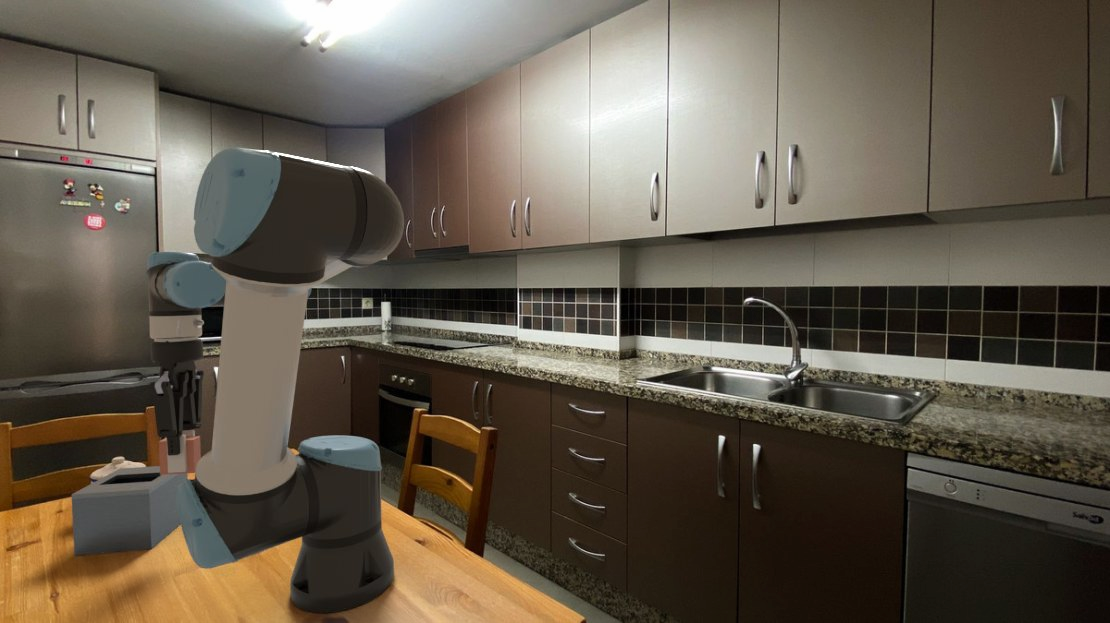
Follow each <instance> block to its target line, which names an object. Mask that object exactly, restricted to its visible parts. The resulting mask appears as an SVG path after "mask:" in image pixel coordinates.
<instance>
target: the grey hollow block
mask: <svg viewBox="0 0 1110 623" xmlns="http://www.w3.org/2000/svg"><path fill="white" fill-rule="evenodd" d="M188 474H189V473H184V474H167V475H160V465H154V466H153V465H152V466H146V467H136V468H120V469H118V470H116V471H114V472H113V473H111V474H109V475H107V476H105V477H103V478H101V479H99V480H98V481H96V482H94V483H92V484H91V483H90V484H88V485H86V486H84V487H83V488H81V489H79V490H77V491H75V492H73V493H72V494H71V512H72V515H71V516H72V531H73V532H72V534H73V535H72V536H73V551H74V553H73V554H74V557H77V556H88V555H98V554H99V555H100V554H110V553H121V552H123V553H124V552H134V551H145V550H152V549H154V548H155V547H156V546H157V545H159V543H160V542H162V541H163V540H164V539H165V538H166V537H168V536H169V535H170V534H171V533H172V532H173V531H175V530H176V529H177V528H178V527H179V526H181V523H180V519H179V514H178V509H177V503H176V488H177V486H178V485H179V484H180V483H182V482H184V481H186V480H187V479H189V478H188V477H189V476H188Z"/></svg>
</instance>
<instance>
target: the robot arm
mask: <svg viewBox="0 0 1110 623" xmlns="http://www.w3.org/2000/svg"><path fill="white" fill-rule="evenodd" d="M193 210H194V211H193V220H194V221H195V222H194V226H193V234H194V239H195V243H196V245H197V247H198V249H199V250H200V251H201V252H202V253H204V254H206V255H209V256H210V257H211V262H209V261H204V260H200V258H199V256H198V254H195V253H192V252H186V251H185V252H182V251H180V252H179V251H154V252H151V253H149V254H148V256H147V269H146V270H145V271H146V272H145V273H146V275H147V286H148V305H149V307H148V309H149V310H148V311H149V315H148V316H149V338H150V339H153V340H154V341H152V342H151V343H150V361H151V362H152V363H154V364H159V365H160V369H159V374H158V375H159V379H158V380H157V381H151V382H150V383H149V389H150V391H151V394H152V397H153V398H152V399H153V407H154V415H155V416H154V417H155V423H156V432H157V433H156V434H157V436H158V437H159V438H167V461H168V473H174V472H185V471H187V454H186V437H192V436H196V433H195V432H196V429H197V430H199V429H201V428H202V424H201V422H202V407H203V406H202V401H203V398H202V397H203V395H202V394H203V380H204V374H205V371H204V370H203V369H201V370H198V369H197V367H196V363H195V362H197V361H200V360H202V359H203V358H204V343H203V340H202V339H201V338H199V337H201V336H202V335H203V325H204V324H205V322H204V320H203V319H202V317H203V316H202V314H203V312H202V309H205V308H210V307H211V308H214V307H223V316H222V327H221V328H222V329H221V337H220V338H221V339H220V348H219V349H220V351H219V361H218V372H217V373H218V374H217V383H216V384H217V386H216V387H217V388H216V397H215V407H214V409H215V410H214V419H213V430H212V431H213V433H212V443H211V444H212V445H211V449H210V450H208V451H207V452H206V453H204V454H203V455H202V456H201V459H200V460H199V461H198V463H197V466H196V471H195V473H194V478H188V479H187V480H186V481H184V482H182V483H180V484H179V485H178V486H177V488H176V503H177V509H178V514H179V519H180V523H181V524H180V526H181V531H182V534H183V538H184V542H185V544H186V547H187V548H188V549H187V550H188V552H189V554H190V557H191V558H192V561H193V562H194V564H195V565H196V566H197V567H199V568H201V569H205V570H206V569H209V570H210V569H214V568H217V567H221V566H225V565H227V564H232V563H233V564H234V563H237V562H238V561H239V560H242V559H245V558H248V557H250V556H253V555H256V554H259V553H262V552H264V551H267V550H270V549H273V548H275V547H277V546H280V545H283V544H286V543H288V542H292V541H293V540H296V539H299V538H301V546H300V548H299V553H298V554H297V558H296V561H295V564H294V568H293V570H292V571H293V572H292V574H291V578H290V585H289V586H290V589H289V590H290V601H291V602H292V604H293V605H294V606H295V607H297V608H299V609H300V610H303V611H305V612H311V613H321V614H322V613H324V614H325V613H334V612H335V613H336V612H341V611H346V610H349V609H353V608H357V607H359V606H362V605H363V604H367V603H368V602H370V601H372V600H374V599H376V598H377V597H378V596H380V595H381V594H383V593H384V592H385V591H386V590H387V589H388V588H389V587H390V585H391V583H392V582H393V580H394V576H395V564H394V557H393V555H392V552H391V549H390V547H389V544H388V542H387V539H386V537H385V534H384V531H383V528H382V527H383V525H382V478H381V477H382V476H381V475H382V474H381V473H382V470H383V466H382V462H381V454H380V452H381V451H380V448H379V445H377V443H375V441H373V440H371V439H369V438H365V437H362V436H356V435H355V436H354V435H345V434H344V435H339V434H338V435H337V434H336V435H335V434H334V435H321V436H314V437H309V438H307V439H304V440H302V441H301V442H300V443H299V446H298V448H297V452H298V453H297V454H295V452H294V451H293V450H292V449H291V448H290V447H288V443H289V439H290V438H289V437H290V429H291V422H292V415H293V407H294V402H295V401H294V400H295V392H296V384H297V376H298V369H299V363H300V357H301V356H300V355H301V347H302V341H303V332H304V324H305V317H306V310H307V303H308V299H309V298H310V296H311V294H312V288H314V287H315V286H318V285H320V284H322V283H324V282H325V281H327V280H329V279H331V278H333V277H335V276H337V275H339V274H341V273H343V272H345V271H346V270H348V269H350V268H352V267H355V268H366V267H369V266H371V265H373V264H375V263H377V262H379V261H382V260H383V259H385V258H387V257H388V256H389V255H391V253H392V252H394V251H395V249H396V248H397V247H398V245H399V244H400V242H401V239H402V237H403V234H404V228H405V218H404V211H403V208H402V205H401V202H400V200H399V199H398V197H397V195H396V194H395V193H394V191H393V189H392V188H391V187H390V186H389V185H388V183H386V182H385V181H384V180H382V179H381V178H380V177H378V176H377V175H375V174H373V173H372V172H370V171H368V170H365V169H362V168H359V167H354V166H350V165H341V164H338V163H337V164H335V163H331V162H325V161H321V160H316V159H315V160H314V159H310V158H305V157H301V156H295V155H291V154H287V153H281V152H276V151H273V150H267V149H263V150H262V149H253V148H244V147H227V148H224V149H222V150H220V151H219V152H217V153H216V154H215V155H214V156H213V157H212V158H211V160H210V161H209V162H208V164H207V165H206V167H205V169H204V171H203V173H202V175H201V178H200V181H199V185H198V187H197V192H196V198H195V201H194V209H193Z"/></svg>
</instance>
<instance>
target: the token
mask: <svg viewBox="0 0 1110 623" xmlns="http://www.w3.org/2000/svg"><path fill="white" fill-rule="evenodd" d="M158 449H159V450H158V453H159V466H160V475H167V474H184V473H187V474H195V471H196V466H197V463H198V461H199V460H200V459H201V457H202V456H201V452H202V451H201V435H198V436H197V435H195V436H192V437H186V454H187V471H185V472H174V473H168V461H167V438H166V437H164V438H163V439H161V440H159V441H158Z"/></svg>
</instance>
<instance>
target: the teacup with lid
mask: <svg viewBox="0 0 1110 623" xmlns="http://www.w3.org/2000/svg"><path fill="white" fill-rule="evenodd" d="M136 467H147V465H146V464H144V463H142V462H134V461H130V460H125V457H124V456H116V457H114V458H112V459H111V463H108V464H106V465H105V466H103V467H102V468H98V469H96V470H95V471H93V472H92V473H91V474H90V475H89V481H90V484H92V483H94V482H96V481H98V480H99V479H101V478H103V477H105V476H107V475H109V474H111V473H113V472H114V471H116V470H118V469H120V468H136Z"/></svg>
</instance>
